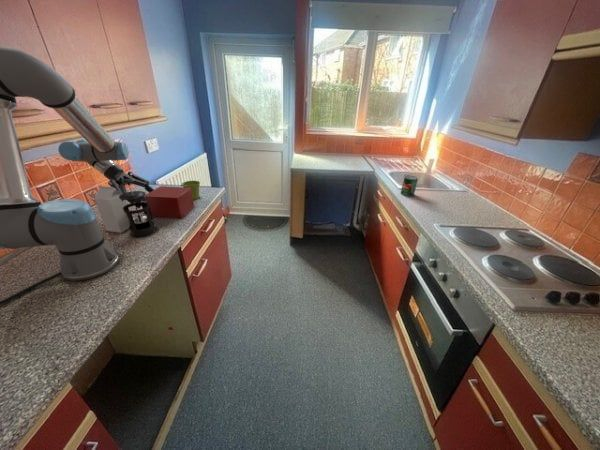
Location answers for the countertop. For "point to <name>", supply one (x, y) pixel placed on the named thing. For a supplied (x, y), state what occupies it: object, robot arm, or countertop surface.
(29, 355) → the countertop surface
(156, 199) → the red drawer cabinet
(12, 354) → the countertop surface
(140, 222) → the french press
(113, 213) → the milk carton
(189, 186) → the plant pot
